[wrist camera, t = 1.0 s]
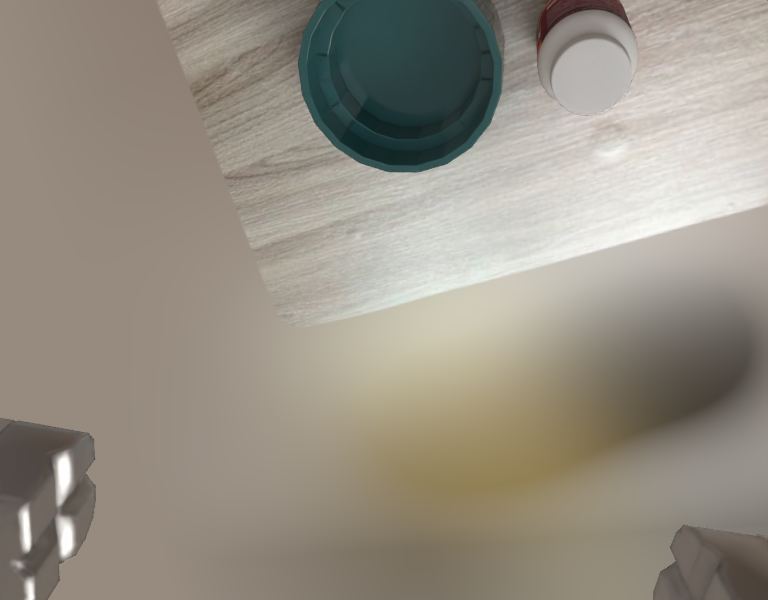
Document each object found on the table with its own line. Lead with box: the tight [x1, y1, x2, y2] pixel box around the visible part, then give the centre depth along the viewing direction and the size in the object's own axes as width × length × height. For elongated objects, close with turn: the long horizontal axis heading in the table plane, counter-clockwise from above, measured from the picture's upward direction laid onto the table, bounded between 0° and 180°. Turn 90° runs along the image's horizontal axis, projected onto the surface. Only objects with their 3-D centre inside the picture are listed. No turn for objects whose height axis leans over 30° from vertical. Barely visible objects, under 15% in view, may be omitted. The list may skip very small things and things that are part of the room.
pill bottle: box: [537, 0, 639, 116], centre depth 46 cm, size 6×6×11 cm
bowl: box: [298, 0, 505, 172], centre depth 51 cm, size 14×14×6 cm
